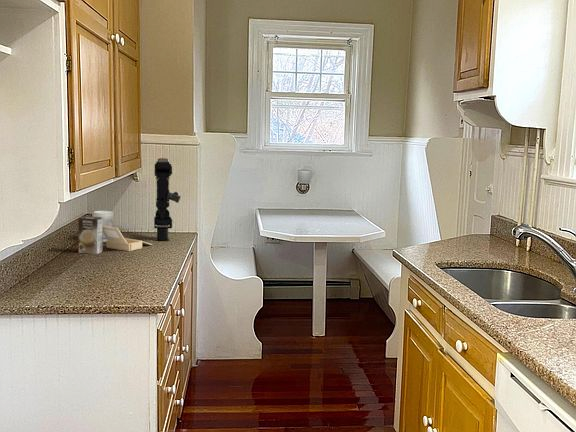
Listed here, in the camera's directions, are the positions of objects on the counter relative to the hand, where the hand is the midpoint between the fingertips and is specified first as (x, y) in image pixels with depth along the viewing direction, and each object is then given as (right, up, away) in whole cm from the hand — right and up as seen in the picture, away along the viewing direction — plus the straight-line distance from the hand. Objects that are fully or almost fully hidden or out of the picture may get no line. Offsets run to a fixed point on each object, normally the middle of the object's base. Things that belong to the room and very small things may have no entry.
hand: (162, 219), depth 292 cm
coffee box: (-29, -15, -19) cm, 38 cm away
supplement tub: (-31, -11, +9) cm, 34 cm away
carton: (-15, -13, -4) cm, 20 cm away
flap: (-20, -7, -15) cm, 26 cm away
